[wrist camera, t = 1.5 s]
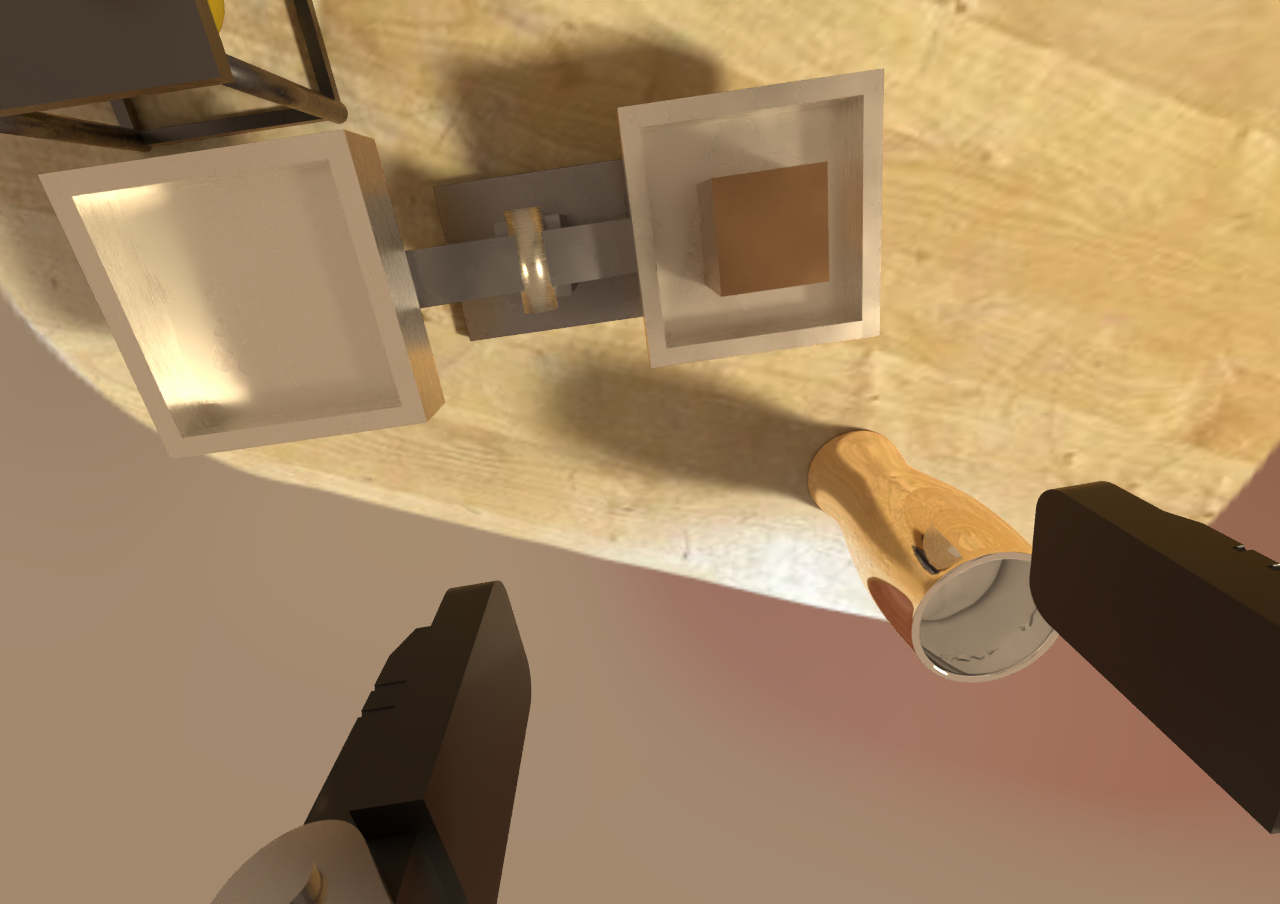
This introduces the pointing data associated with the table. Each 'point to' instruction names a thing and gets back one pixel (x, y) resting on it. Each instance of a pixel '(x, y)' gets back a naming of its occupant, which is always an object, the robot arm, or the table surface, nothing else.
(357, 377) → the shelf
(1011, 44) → the table surface
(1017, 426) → the table surface
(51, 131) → the small metal side table
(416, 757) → the robot arm
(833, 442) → the beer glass
